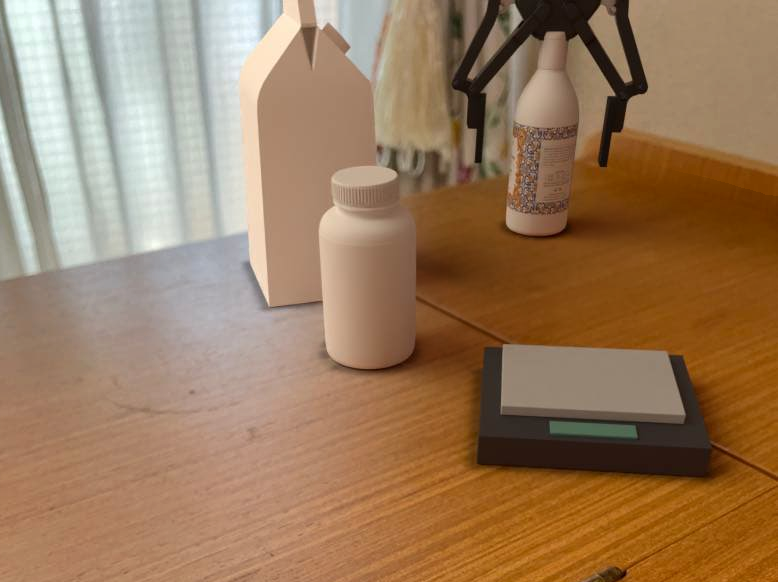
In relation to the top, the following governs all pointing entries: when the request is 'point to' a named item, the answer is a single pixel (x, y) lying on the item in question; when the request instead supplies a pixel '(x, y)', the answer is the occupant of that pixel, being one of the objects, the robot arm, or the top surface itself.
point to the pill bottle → (368, 270)
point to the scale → (590, 411)
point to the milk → (298, 146)
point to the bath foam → (543, 145)
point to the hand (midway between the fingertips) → (539, 162)
